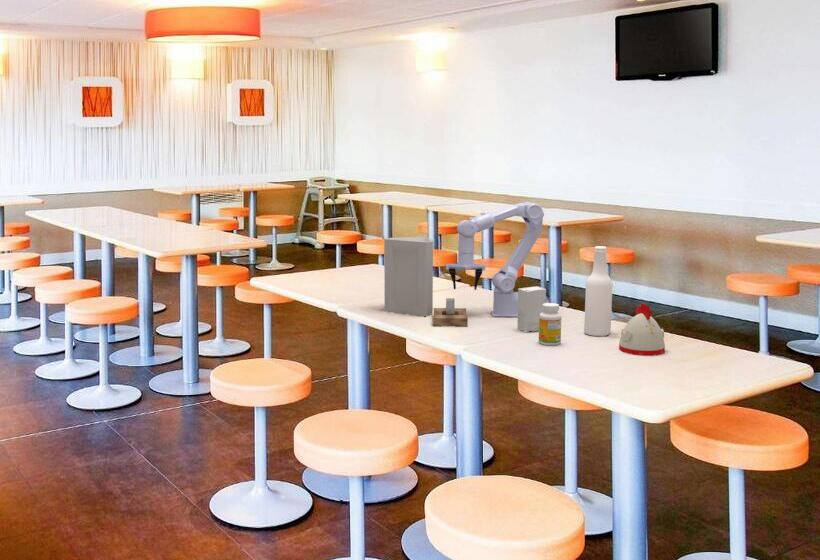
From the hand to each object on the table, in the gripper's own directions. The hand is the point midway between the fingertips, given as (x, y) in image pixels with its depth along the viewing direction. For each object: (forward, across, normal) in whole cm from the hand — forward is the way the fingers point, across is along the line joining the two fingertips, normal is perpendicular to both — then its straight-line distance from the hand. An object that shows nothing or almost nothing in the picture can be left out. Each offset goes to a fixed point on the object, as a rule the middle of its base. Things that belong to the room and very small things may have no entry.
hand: (464, 289), depth 321 cm
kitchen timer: (+10, +54, -49) cm, 74 cm away
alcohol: (+10, +44, -27) cm, 53 cm away
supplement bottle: (+10, +26, -41) cm, 50 cm away
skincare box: (+10, +22, -22) cm, 33 cm away
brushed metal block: (+10, -5, -9) cm, 15 cm away
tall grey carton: (+11, -19, +9) cm, 23 cm away
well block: (+10, -5, -9) cm, 15 cm away
